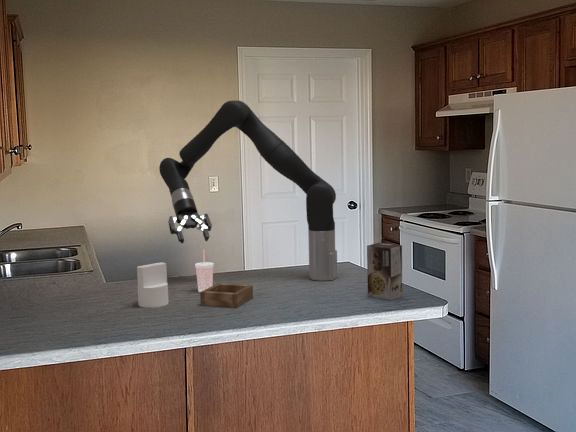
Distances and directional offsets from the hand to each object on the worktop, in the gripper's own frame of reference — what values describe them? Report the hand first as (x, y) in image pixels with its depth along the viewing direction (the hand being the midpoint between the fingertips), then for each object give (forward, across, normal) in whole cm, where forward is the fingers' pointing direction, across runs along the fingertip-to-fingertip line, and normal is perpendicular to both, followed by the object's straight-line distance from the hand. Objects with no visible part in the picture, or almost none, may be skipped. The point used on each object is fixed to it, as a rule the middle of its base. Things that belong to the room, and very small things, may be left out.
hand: (195, 240), depth 222 cm
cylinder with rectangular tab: (+23, -19, -1) cm, 30 cm away
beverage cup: (+18, 0, +4) cm, 18 cm away
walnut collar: (+29, +1, -8) cm, 30 cm away
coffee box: (+43, +46, -21) cm, 66 cm away
